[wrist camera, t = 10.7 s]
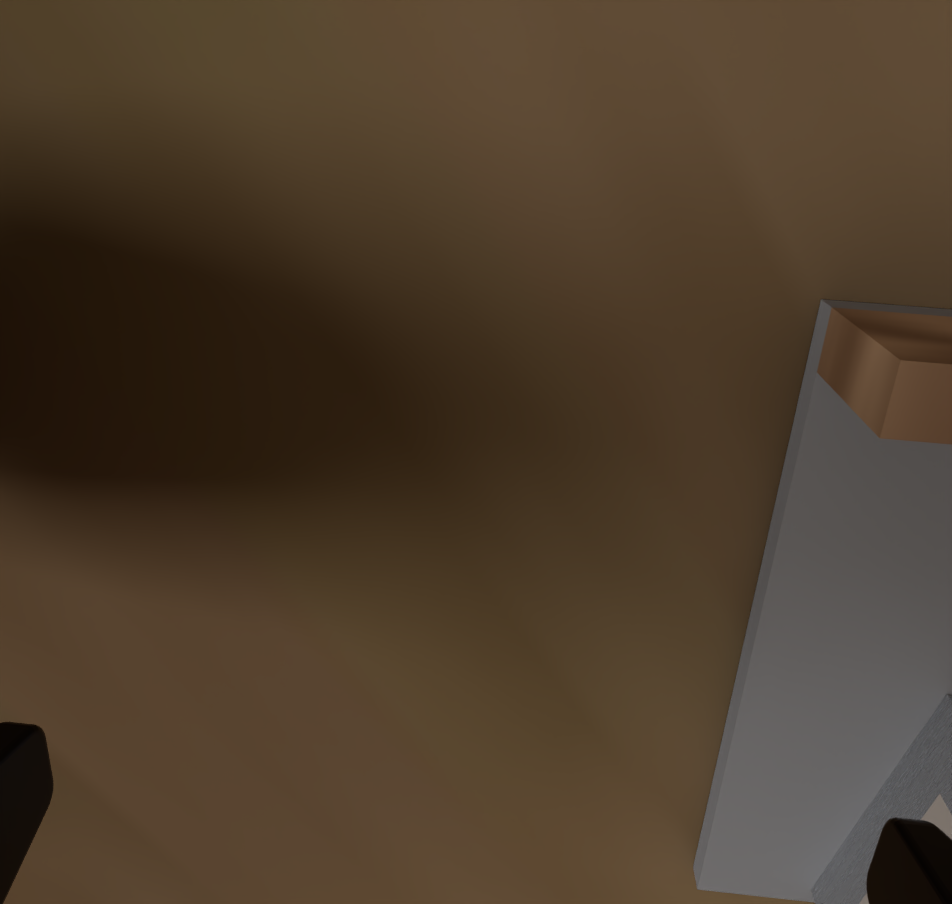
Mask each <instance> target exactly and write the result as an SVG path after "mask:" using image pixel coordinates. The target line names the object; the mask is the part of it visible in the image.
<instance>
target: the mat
mask: <svg viewBox="0 0 952 904" xmlns="http://www.w3.org/2000/svg"><path fill="white" fill-rule="evenodd" d="M832 307H833V308H846V309H859V310H871V311H884V312H897V313H910V314H923V315H936V316H948V317H952V309H941V308H928V307H915V306H902V305H889V304H876V303H863V302H851V301H838V300H825V299H821V302H820V306H819V311H818V315H817V319H816V324H815V328H814V333H813V337H812V342H811V346H810V351H809V355H808V359H807V364H806V368H805V373H804V377H803V382H802V386H801V391H800V395H799V399H798V404H797V408H796V413H795V417H794V422H793V426H792V431H791V435H790V439H789V444H788V448H787V453H786V457H785V462H784V466H783V471H782V475H781V479H780V484H779V488H778V493H777V497H776V502H775V506H774V511H773V515H772V519H771V524H770V528H769V533H768V537H767V542H766V546H765V551H764V555H763V559H762V564H761V568H760V573H759V577H758V582H757V586H756V591H755V595H754V599H753V604H752V608H751V613H750V617H749V622H748V626H747V631H746V635H745V639H744V644H743V648H742V653H741V657H740V662H739V666H738V671H737V675H736V679H735V684H734V688H733V693H732V697H731V702H730V706H729V711H728V715H727V719H726V724H725V728H724V733H723V737H722V742H721V746H720V751H719V755H718V759H717V764H716V768H715V773H714V777H713V782H712V786H711V791H710V795H709V799H708V804H707V808H706V813H705V817H704V822H703V826H702V831H701V835H700V839H699V844H698V848H697V853H696V857H695V862H694V866H693V869H694V874H695V879H696V885H697V889H699V890H708V891H717V892H726V893H735V894H744V895H753V896H762V897H771V898H780V899H789V900H798V901H807V902H815V901H814V898H813V895H812V892H811V888H812V887H813V886H814V884H815V883H816V881H817V880H818V878H819V877H820V875H821V874H822V873H823V871H824V870H825V868H826V867H827V865H828V864H829V862H830V861H831V860H832V858H833V857H834V855H835V854H836V852H837V851H838V849H839V848H840V846H841V845H842V844H843V842H844V841H845V839H846V838H847V836H848V835H849V833H850V832H851V831H852V829H853V828H854V826H855V825H856V823H857V822H858V820H859V819H860V818H861V816H862V815H863V813H864V812H865V810H866V809H867V807H868V806H869V805H870V803H871V802H872V800H873V799H874V797H875V796H876V794H877V793H878V792H879V790H880V789H881V787H882V786H883V784H884V783H885V781H886V780H887V779H888V777H889V776H890V774H891V773H892V771H893V770H894V768H895V767H896V766H897V764H898V763H899V761H900V760H901V758H902V757H903V755H904V754H905V753H906V751H907V750H908V748H909V747H910V745H911V744H912V742H913V741H914V740H915V738H916V737H917V735H918V734H919V732H920V731H921V729H922V728H923V727H924V725H925V724H926V722H927V721H928V719H929V718H930V716H931V715H932V714H933V712H934V711H935V709H936V708H937V706H938V705H939V703H940V702H941V701H942V699H943V698H944V696H945V695H946V694H950V695H952V445H951V444H939V443H928V442H916V441H904V440H892V439H881V438H879V437H878V436H877V435H876V434H875V433H874V432H873V431H872V430H871V429H870V428H869V427H868V426H867V425H866V424H865V422H864V421H863V420H862V419H861V418H860V417H859V416H858V415H857V414H856V413H855V412H854V411H853V410H852V409H851V408H850V407H849V406H848V405H847V404H846V403H845V401H844V400H843V399H842V398H841V397H840V396H839V395H838V394H837V393H836V392H835V391H834V390H833V389H832V388H831V387H830V386H829V385H828V384H827V383H826V381H825V380H824V379H823V378H822V377H821V376H820V375H819V374H818V373H817V369H818V365H819V360H820V356H821V352H822V347H823V343H824V339H825V334H826V330H827V326H828V321H829V317H830V313H831V308H832Z"/></svg>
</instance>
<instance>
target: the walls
mask: <svg viewBox="0 0 952 904" xmlns="http://www.w3.org/2000/svg"><path fill="white" fill-rule="evenodd" d="M817 373H818V374H819V375H820V376H821V377H822V378H823V379H824V380H825V381H826V383H827V384H828V385H829V386H830V387H831V388H832V389H833V390H834V391H835V392H836V393H837V394H838V395H839V396H840V397H841V398H842V399H843V400H844V401H845V403H846V404H847V405H848V406H849V407H850V408H851V409H852V410H853V411H854V412H855V413H856V414H857V415H858V416H859V417H860V418H861V419H862V420H863V421H864V422H865V424H866V425H867V426H868V427H869V428H870V429H871V430H872V431H873V432H874V433H875V434H876V435H877V436H878V437H879V438H881V439H892V440H904V441H916V442H928V443H939V444H951V445H952V317H948V316H936V315H923V314H910V313H897V312H884V311H871V310H859V309H846V308H833V307H832V308H831V313H830V317H829V321H828V326H827V330H826V334H825V339H824V343H823V347H822V352H821V356H820V360H819V365H818V369H817Z"/></svg>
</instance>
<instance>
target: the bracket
mask: <svg viewBox="0 0 952 904" xmlns="http://www.w3.org/2000/svg"><path fill="white" fill-rule="evenodd" d="M895 817H898V818H907V819H916V820H925V821H928V822H931V823H933V824H934V825H936V826H937V827H938V828H939V829H941V830H942V831H943V832H944V833H945V834H946V835H947V836H948V837H950V838H951V839H952V695H950V694H946V695H945V696H944V698H943V699H942V701H941V702H940V703H939V705H938V706H937V708H936V709H935V711H934V712H933V714H932V715H931V716H930V718H929V719H928V721H927V722H926V724H925V725H924V727H923V728H922V729H921V731H920V732H919V734H918V735H917V737H916V738H915V740H914V741H913V742H912V744H911V745H910V747H909V748H908V750H907V751H906V753H905V754H904V755H903V757H902V758H901V760H900V761H899V763H898V764H897V766H896V767H895V768H894V770H893V771H892V773H891V774H890V776H889V777H888V779H887V780H886V781H885V783H884V784H883V786H882V787H881V789H880V790H879V792H878V793H877V794H876V796H875V797H874V799H873V800H872V802H871V803H870V805H869V806H868V807H867V809H866V810H865V812H864V813H863V815H862V816H861V818H860V819H859V820H858V822H857V823H856V825H855V826H854V828H853V829H852V831H851V832H850V833H849V835H848V836H847V838H846V839H845V841H844V842H843V844H842V845H841V846H840V848H839V849H838V851H837V852H836V854H835V855H834V857H833V858H832V860H831V861H830V862H829V864H828V865H827V867H826V868H825V870H824V871H823V873H822V874H821V875H820V877H819V878H818V880H817V881H816V883H815V884H814V886H813V887H812V888H811V892H812V895H813V898H814V901H815V904H869V902H868V897H867V888H866V881H867V874H868V870H869V867H870V864H871V861H872V858H873V855H874V852H875V849H876V846H877V843H878V840H879V837H880V834H881V831H882V829H883V826H884V824H885V823H886V822H887V821H888V820H889V819H890V818H895Z"/></svg>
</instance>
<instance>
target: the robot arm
mask: <svg viewBox="0 0 952 904" xmlns="http://www.w3.org/2000/svg"><path fill="white" fill-rule="evenodd" d="M52 793H53V776H52V771H51V765H50V759H49V754H48V748H47V742H46V737H45V733H44V731H43V730H42V729H41V728H40V727H39V726H37V725H33V724H24V723H14V722H2V723H0V904H3V903H4V900H5V898H6V896H7V894H8V892H9V890H10V888H11V886H12V883H13V881H14V879H15V877H16V875H17V873H18V871H19V868H20V866H21V864H22V862H23V860H24V858H25V856H26V854H27V851H28V849H29V847H30V845H31V843H32V841H33V839H34V837H35V834H36V832H37V830H38V828H39V826H40V824H41V822H42V820H43V817H44V815H45V813H46V811H47V809H48V806H49V804H50V801H51V798H52ZM866 888H867V897H868V902H869V904H952V839H951V838H950V837H948V836H947V835H946V834H945V833H944V832H943V831H942V830H941V829H939V828H938V827H937V826H936V825H934V824H933V823H931V822H928V821H925V820H916V819H907V818H898V817H895V818H890V819H889V820H888V821H887V822H886V823H885V824H884V826H883V829H882V831H881V834H880V837H879V840H878V843H877V846H876V849H875V852H874V855H873V858H872V861H871V864H870V867H869V870H868V874H867V881H866Z"/></svg>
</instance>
